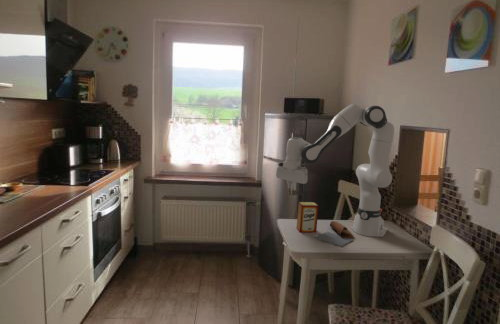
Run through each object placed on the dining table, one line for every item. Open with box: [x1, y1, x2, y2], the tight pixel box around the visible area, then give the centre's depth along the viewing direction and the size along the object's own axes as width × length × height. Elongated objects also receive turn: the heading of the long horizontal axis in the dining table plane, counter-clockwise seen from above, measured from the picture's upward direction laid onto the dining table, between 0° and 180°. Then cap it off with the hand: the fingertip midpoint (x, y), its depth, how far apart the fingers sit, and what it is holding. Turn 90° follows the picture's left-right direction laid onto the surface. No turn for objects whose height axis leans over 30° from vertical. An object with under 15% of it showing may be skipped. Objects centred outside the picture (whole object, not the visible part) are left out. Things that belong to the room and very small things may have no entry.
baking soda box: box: [296, 201, 319, 234], centre depth 188 cm, size 10×6×16 cm
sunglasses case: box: [329, 220, 355, 239], centre depth 188 cm, size 18×7×7 cm, turn 6°
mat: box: [314, 231, 354, 248], centre depth 178 cm, size 13×16×1 cm
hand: (290, 188), depth 195 cm, fingers closed
